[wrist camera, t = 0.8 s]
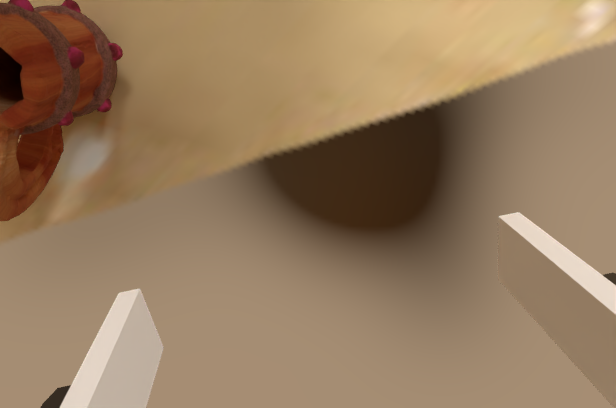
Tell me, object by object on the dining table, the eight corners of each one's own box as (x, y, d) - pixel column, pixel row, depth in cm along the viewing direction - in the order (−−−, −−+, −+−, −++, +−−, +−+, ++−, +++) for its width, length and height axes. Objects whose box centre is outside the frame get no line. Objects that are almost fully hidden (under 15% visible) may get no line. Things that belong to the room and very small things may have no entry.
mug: (33, -17, 34) (-118, -44, 21) (139, 20, 36) (64, 17, 22) (15, 154, 39) (-117, 225, 25) (109, 179, 41) (32, 257, 27)
